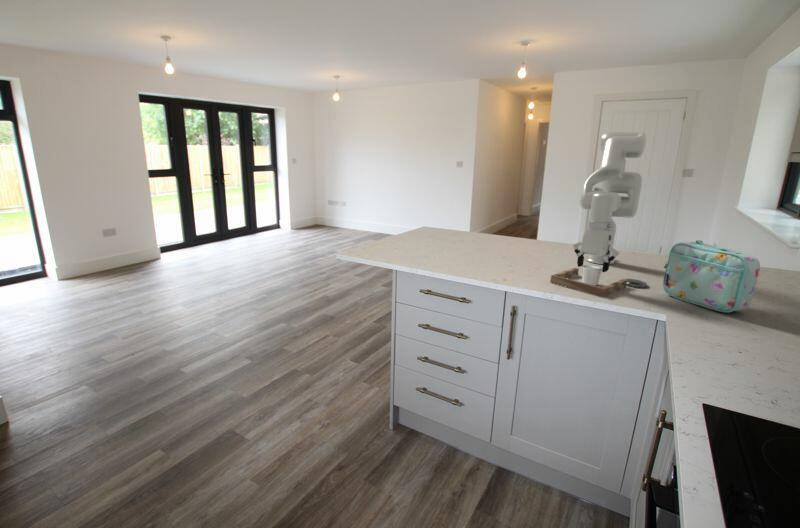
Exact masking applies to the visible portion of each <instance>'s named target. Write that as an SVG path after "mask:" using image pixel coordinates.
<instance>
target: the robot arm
mask: <svg viewBox="0 0 800 528" xmlns="http://www.w3.org/2000/svg"><path fill="white" fill-rule="evenodd" d="M599 142H600V149H601V152H602V153H601V157H600V158H601V159H600V162H599V168H598V169H596V170H595V171H593V172H592V173H591V174H590V175H589V176H588V177H587V179H586V180H585V181H584V183H583V187H582V189H581V194H580V195H581V196H580V199H579V200H580V202H579V203H580V205H579V206H580V207H581V208H582V209H584V210H589V217H588V223H587V227H585V230H584V233H583V235H582V239H581V241H580V242H576V243H574V244H572V247H573V249H574V252H575V254H576V256H577V261H576V263H577V268H580V267H583V266H584V261H585V260H586V262H588V263H592V264H597V265H602V267H601V268H602V271H601V273H607V272H608V271H609V270H610V265H614V264H615V259H616V258H617V257H618V256H619V255H620V252H619V251H618V250H616V249H615V248H614V245H615V243H614V242H615V237H616V231H617V224H616V222H615V220H614V219H613V217H615V218H623V219H624V218H629V219H631V218H634V217H635V216H636V215H637V211H638V208H639V201H640V195H641V190H642V182H643V177H642V175H641V174H640V173H639V172H634V171H625V169H626V164H627V159H628V158H629V159H630V158H631V159H633V158H634V159H639V158H641V157H642V155H643V154H644V152H645V150H646V145H647V135H646V133H645V132H642V131H640V132H638V131H633V132H632V131H630V132H629V131H625V132H624V131H615V132H614V131H613V132H612V131H611V132H606V133H603V134H602V135H601V137H600V141H599ZM626 158H627V159H626ZM599 183H601V189H602V190H591V189H592V188H593V187H594V186H595V185H597V184H599ZM620 194H626V195H627V196H621V195H620ZM579 247H580V249H579ZM585 254H586V255H587V256H584V255H585Z"/></svg>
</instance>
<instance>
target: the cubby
mask: <svg viewBox="0 0 800 528" xmlns="http://www.w3.org/2000/svg"><path fill="white" fill-rule="evenodd" d="M579 270H580V267H573V268H570V269H567V270H564V271H561V272H558V273H555V274H552V275H550V282H552V283H551V284H553V283H555V284H554V285H557V284H559V285H558V286H560V285H562V287H564V286H566V287H565V288H568V287H569V288H568V289H571V288H572V289H571V290H575V289H576V291H578V290H579V292H582V291H583V293H586V292H587V294H589V293H590V295H593V294H594V295H593V296H596V295H597V297H600V296H601V297H600V298H604V297H605V298H606V297H608V296H610V295H611V294H613V293H616V292H618V291H620V289H621V290H623V289H625V288H627V286H626V284H627V280H626V279H627V278H622V279H620V280H617V281H615V282H613V283H610V284H608V285H605V286H603V287H601V286H599V285H598V286H594V285H590V284H586V283H582V281H578V280H574V279H571V278H573V277H572V276H574V277H576V276H575V275H577V276H579ZM570 277H571V278H570ZM567 278H568V279H567ZM622 288H623V289H622ZM609 294H610V295H609Z"/></svg>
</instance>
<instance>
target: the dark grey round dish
mask: <svg viewBox="0 0 800 528" xmlns="http://www.w3.org/2000/svg"><path fill="white" fill-rule="evenodd" d="M625 279H626V280H627V284H626V287H627V288H628V287H629V288H634V289H635V288H636V289H646V288H647V287H648V283H647V282H645V281H644V280H640V279H635V278H625Z"/></svg>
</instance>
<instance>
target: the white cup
mask: <svg viewBox="0 0 800 528" xmlns="http://www.w3.org/2000/svg"><path fill="white" fill-rule="evenodd" d="M602 268H603V267H600V266H597V265H591V264H586V265H585V264H583V266H582V281H581V282H582V283H586V284H590V285H594V286H596V285H598V286H599V282H600V277H601V273H602Z"/></svg>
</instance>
